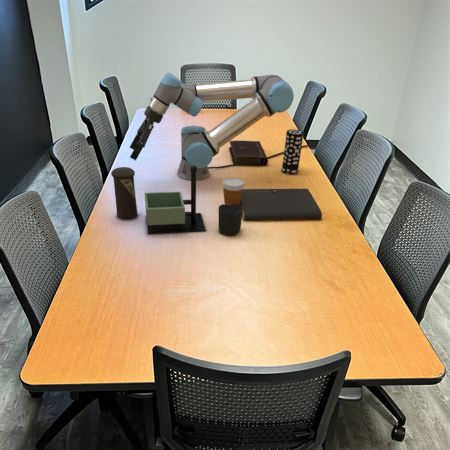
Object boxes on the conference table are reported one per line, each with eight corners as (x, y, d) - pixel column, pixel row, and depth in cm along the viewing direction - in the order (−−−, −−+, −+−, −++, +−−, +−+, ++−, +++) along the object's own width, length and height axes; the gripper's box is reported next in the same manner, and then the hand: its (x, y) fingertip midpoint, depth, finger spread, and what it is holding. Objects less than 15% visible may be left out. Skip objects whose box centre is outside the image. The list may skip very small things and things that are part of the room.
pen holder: (233, 239, 178) (234, 216, 172) (213, 232, 182) (213, 209, 176) (245, 229, 184) (247, 207, 178) (225, 223, 188) (226, 200, 182)
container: (133, 222, 185) (129, 175, 173) (112, 219, 187) (107, 172, 174) (141, 212, 192) (137, 166, 180) (120, 209, 193) (116, 164, 181)
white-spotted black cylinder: (279, 172, 233) (284, 133, 221) (284, 167, 239) (289, 128, 227) (295, 175, 231) (301, 135, 219) (299, 170, 237) (305, 131, 225)
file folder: (307, 187, 210) (322, 212, 191) (306, 195, 213) (320, 221, 194) (237, 188, 206) (244, 213, 188) (236, 196, 209) (244, 222, 190)
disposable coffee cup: (245, 205, 202) (247, 179, 195) (238, 214, 195) (240, 188, 187) (225, 201, 204) (226, 175, 197) (217, 210, 197) (218, 184, 190)
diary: (260, 149, 259) (260, 140, 256) (267, 166, 240) (268, 156, 237) (227, 149, 257) (227, 140, 254) (232, 166, 238) (233, 156, 235)
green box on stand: (200, 214, 193) (201, 158, 178) (205, 231, 182) (206, 172, 167) (146, 217, 189) (142, 159, 175) (148, 234, 178) (143, 174, 163)
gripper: (146, 98, 200) (124, 140, 209) (149, 112, 180) (124, 158, 189) (161, 108, 204) (139, 149, 212) (166, 123, 184) (141, 167, 192)
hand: (132, 153), depth 201 cm, fingers open, 13 cm apart
